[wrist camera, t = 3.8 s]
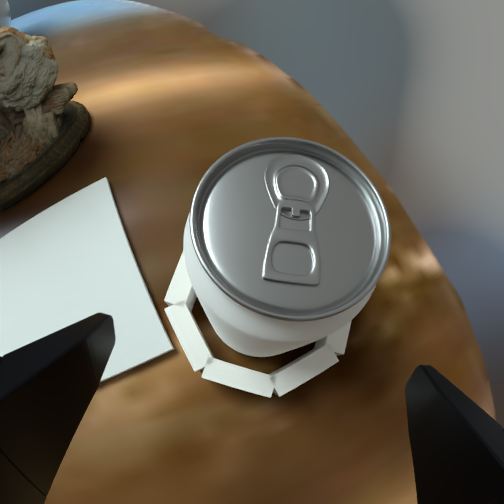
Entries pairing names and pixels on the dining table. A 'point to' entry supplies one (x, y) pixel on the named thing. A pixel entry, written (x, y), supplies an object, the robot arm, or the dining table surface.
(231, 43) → the dining table surface
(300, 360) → the ring
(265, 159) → the can
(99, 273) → the mat
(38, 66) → the owl figurine
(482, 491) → the robot arm
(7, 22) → the chamber pot
